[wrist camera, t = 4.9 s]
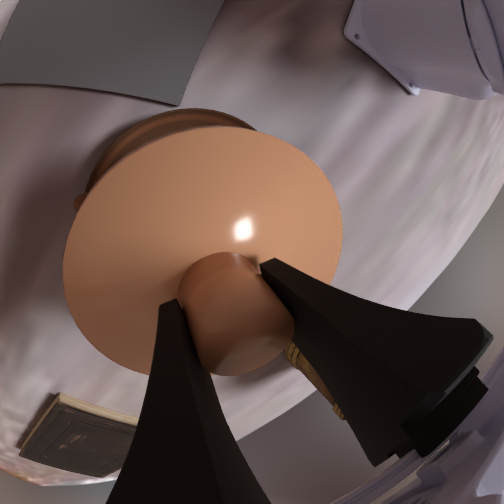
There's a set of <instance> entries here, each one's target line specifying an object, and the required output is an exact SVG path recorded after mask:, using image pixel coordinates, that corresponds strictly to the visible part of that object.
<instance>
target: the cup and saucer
mask: <svg viewBox="0 0 504 504" xmlns="http://www.w3.org/2000/svg"><path fill="white" fill-rule="evenodd" d="M212 125H222V126H234V127H242V128H246V129H250V130H254V131H257V130H255V129H254V128H253V127H252V126H250V125H249V124H247V123H246V122H244V121H242V120H240V119H238V118H236V117H234V116H231V115H229V114H226V113H223V112H219V111H215V110H209V109H199V108H188V109H178V110H173V111H168V112H164V113H161V114H158V115H155V116H152V117H150V118H148V119H145V120H143V121H141V122H140V123H138V124H136V125H134V126H133V127H131V128H130V129H128V130H127V131H126V132H124V133H123V134H122V135H121V136H120V137H118V138H117V139H116V140H115V141H114V142H113V143H112V144H111V145H110V147H109V148H108V149H107V150H106V151H105V152H104V154H103V155H102V157H101V158H100V160H99V161H98V162H97V164H96V166H95V168H94V170H93V172H92V174H91V176H90V179H89V181H88V184H87V187H86V191H85V193H83V194H80V195H79V196H77V197H76V199H75V201H74V207H75V210H76V211H77V213H78V210H79V208H80V206H81V204H82V203H83V201H84V199H85V198H86V196H87V195H88V193H89V191H90V190H91V188H92V187H93V186H94V185H95V184H96V182H97V181H98V180H99V179H100V178H101V177H102V176H103V174H104V173H105V172H106V171H107V170H108V169H109V168H110V167H112V166H113V165H114V164H115V163H116V162H118V161H119V160H120V159H121V158H122V157H124V156H125V155H126V154H128V153H129V152H131V151H133V150H134V149H136V148H138V147H139V146H141V145H143V144H144V143H146V142H148V141H150V140H153V139H155V138H158V137H160V136H163V135H165V134H168V133H170V132H174V131H178V130H183V129H187V128H192V127H199V126H212Z"/></svg>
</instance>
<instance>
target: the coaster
mask: <svg viewBox="0 0 504 504" xmlns="http://www.w3.org/2000/svg"><path fill="white" fill-rule="evenodd" d="M224 1H225V0H20V1H19V3H18V5H17V7H16V9H15V11H14V13H13V15H12V17H11V19H10V21H9V23H8V26H7V28H6V30H5V33H4V35H3V37H2V40H1V43H0V84H7V83H17V84H46V85H59V86H70V87H79V88H88V89H95V90H102V91H109V92H115V93H121V94H126V95H131V96H137V97H142V98H146V99H151V100H155V101H160V102H164V103H168V104H172V105H176V106H180V103H181V100H182V97H183V95H184V92H185V89H186V86H187V84H188V81H189V79H190V76H191V73H192V71H193V68H194V66H195V63H196V61H197V59H198V56H199V54H200V51H201V49H202V47H203V45H204V42H205V40H206V38H207V36H208V33H209V31H210V29H211V27H212V25H213V23H214V21H215V19H216V17H217V15H218V13H219V11H220V9H221V7H222V5H223V3H224Z"/></svg>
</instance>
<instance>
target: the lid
mask: <svg viewBox="0 0 504 504" xmlns="http://www.w3.org/2000/svg"><path fill="white" fill-rule="evenodd" d="M342 238H343V229H342V217H341V211H340V206H339V203H338V200H337V197H336V194H335V192H334V190H333V188H332V186H331V184H330V182H329V180H328V179H327V177H326V176H325V175H324V173H323V172H322V171H321V169H320V168H319V167H318V166H317V165H316V164H315V163H314V162H313V161H312V160H311V159H310V158H309V157H308V156H307V155H306V154H304V153H303V152H301V151H300V150H298V149H297V148H295V147H294V146H292V145H291V144H289V143H287V142H285V141H282V140H280V139H278V138H276V137H273V136H271V135H268V134H265V133H261V132H258V131H254V130H250V129H246V128H242V127H234V126H222V125H212V126H199V127H192V128H187V129H183V130H178V131H174V132H170V133H168V134H165V135H163V136H160V137H158V138H155V139H153V140H150V141H148V142H146V143H144V144H143V145H141V146H139V147H138V148H136V149H134V150H133V151H131V152H129V153H128V154H126V155H125V156H124V157H122V158H121V159H120V160H119V161H118V162H116V163H115V164H114V165H113V166H112V167H110V168H109V169H108V170H107V171H106V172H105V173H104V174H103V176H102V177H101V178H100V179H99V180H98V181H97V182H96V184H95V185H94V186H93V187H92V188H91V190H90V191H89V193H88V195H87V196H86V198H85V199H84V201H83V203H82V204H81V206H80V208H79V210H78V213H77V215H76V217H75V220H74V222H73V225H72V227H71V230H70V233H69V236H68V239H67V243H66V248H65V253H64V258H63V285H64V292H65V297H66V300H67V304H68V307H69V310H70V313H71V315H72V317H73V319H74V321H75V323H76V324H77V326H78V328H79V329H80V331H81V332H82V333H83V335H84V336H85V337H86V339H87V340H88V341H89V342H90V343H91V344H92V345H93V346H94V347H95V348H96V349H97V350H98V351H100V352H101V353H102V354H103V355H105V356H106V357H107V358H109V359H111V360H112V361H114V362H116V363H118V364H119V365H121V366H123V367H126V368H128V369H131V370H133V371H136V372H139V373H143V374H146V375H150V369H151V364H152V359H153V352H154V345H155V339H156V331H157V322H158V308H159V306H160V304H163V303H165V302H168V301H170V300H173V299H175V298H177V300H178V302H179V304H180V306H181V308H182V310H183V313H184V316H185V319H186V322H187V325H188V328H189V331H190V334H191V337H192V340H193V343H194V346H195V348H196V351H197V354H198V356H199V359H200V362H201V364H202V366H203V367H204V368H205V369H206V370H207V371H209V372H210V375H213V374H215V375H220V376H235V375H241V374H245V373H248V372H251V371H254V370H256V369H258V368H260V367H262V366H264V365H266V364H267V363H269V362H270V361H272V360H273V359H274V358H276V357H277V356H278V355H279V354H280V353H281V352H282V351H283V350H284V349H285V348H286V346H287V345H288V344H289V342H290V340H291V339H292V336H293V334H294V330H295V322H294V319H293V316H292V315H291V314H290V312H289V311H288V310H287V308H286V307H285V306H284V304H283V303H282V302H281V300H280V299H279V298H278V296H277V295H276V294H275V292H274V291H273V290H272V289H271V287H270V286H269V285H268V283H267V282H266V281H265V279H264V278H263V277H262V275H261V271H260V266H259V264H260V263H263V262H265V261H267V260H270V259H272V258H277V259H279V260H281V261H283V262H285V263H287V264H288V265H290V266H292V267H294V268H296V269H298V270H300V271H302V272H304V273H306V274H307V275H309V276H311V277H313V278H315V279H318V280H320V281H322V282H324V283H326V284H328V285H330V283H331V281H332V279H333V277H334V274H335V271H336V268H337V266H338V262H339V258H340V253H341V247H342Z"/></svg>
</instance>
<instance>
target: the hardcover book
mask: <svg viewBox="0 0 504 504" xmlns="http://www.w3.org/2000/svg"><path fill="white" fill-rule="evenodd" d="M138 420H139V418H137V417H133V416H129V415H125V414H122V413H118V412H115V411H112V410H108V409H105V408H102V407H99V406H96V405H93V404H90V403H87V402H84V401H82V400H79V399H76V398H74V397H71V396H68V395H66V394H63V393H61V392H60V393H59V394H58V396H57V397H56V398H55V400H54V401H53V402H52V404H51V405H50V406H49V408H48V409H47V410H46V412H45V413H44V414H43V416H42V417H41V419H40V420H39V421H38V423H37V424H36V426H35V427H34V428H33V430H32V431H31V433H30V434H29V436H28V437H27V439H26V440H25V442H24V443H23V444H22V446H21V452H20V453H19V456H21V457H24V458H26V459H29V460H32V461H35V462H38V463H41V464H45V465H48V466H51V467H55V468H59V469H62V470H66V471H70V472H75V473H79V474H84V475H89V476H94V477H100V478H103V477H105V476H107V475H109V474H111V473H113V472H115V471H117V470H119V469H121V468H122V466H123V464H124V461H125V458H126V456H127V453H128V450H129V448H130V445H131V442H132V439H133V436H134V433H135V430H136V427H137V423H138Z"/></svg>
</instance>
